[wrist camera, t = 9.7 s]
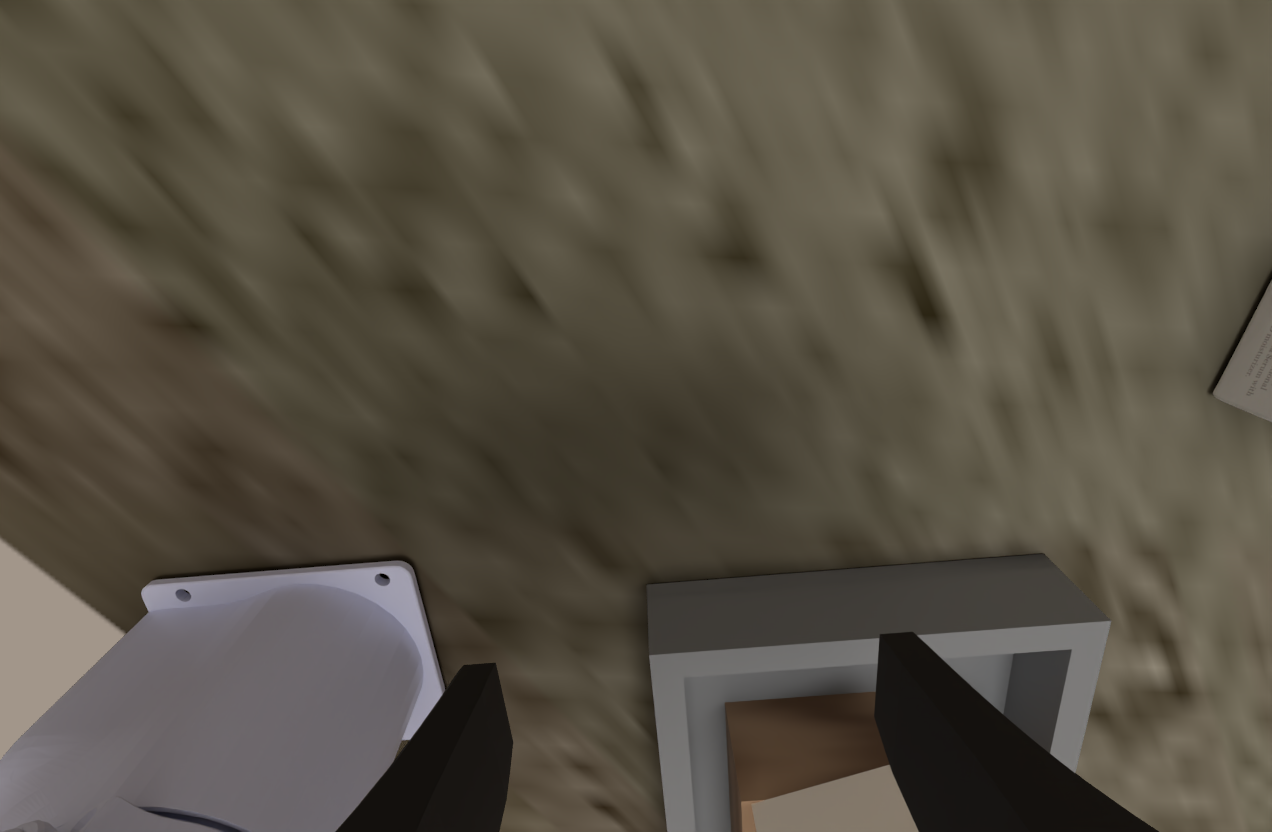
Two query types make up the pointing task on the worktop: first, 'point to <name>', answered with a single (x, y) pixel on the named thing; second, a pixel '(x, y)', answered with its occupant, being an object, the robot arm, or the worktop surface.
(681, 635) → the tote
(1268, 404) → the skincare box
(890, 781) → the cream lidded carton
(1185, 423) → the worktop surface
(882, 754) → the walnut block
